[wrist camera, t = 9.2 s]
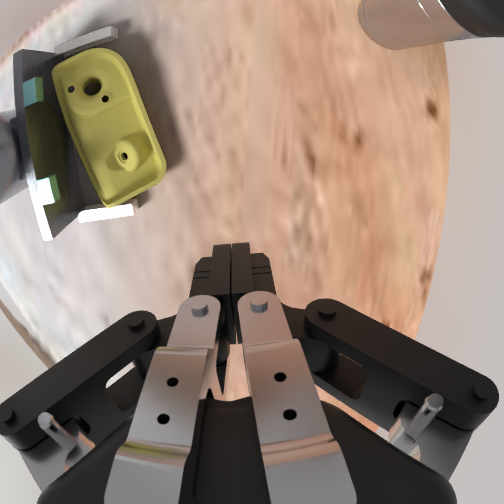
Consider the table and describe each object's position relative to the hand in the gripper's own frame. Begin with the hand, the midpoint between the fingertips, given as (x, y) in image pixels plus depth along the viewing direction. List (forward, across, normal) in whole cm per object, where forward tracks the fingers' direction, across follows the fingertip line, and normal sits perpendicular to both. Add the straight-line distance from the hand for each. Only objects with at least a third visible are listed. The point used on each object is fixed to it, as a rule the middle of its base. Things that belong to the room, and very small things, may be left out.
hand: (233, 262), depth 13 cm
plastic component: (+27, +16, -6) cm, 32 cm away
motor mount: (+27, +26, -7) cm, 38 cm away
